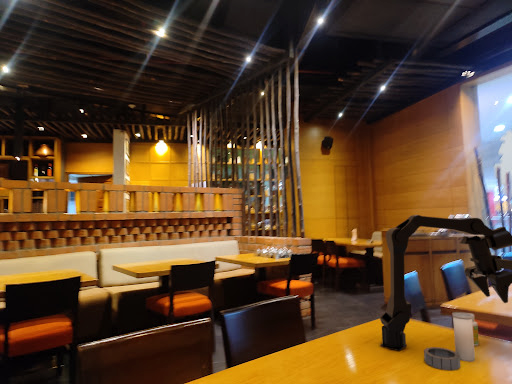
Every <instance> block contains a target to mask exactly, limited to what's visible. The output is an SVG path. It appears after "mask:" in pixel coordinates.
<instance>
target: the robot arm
mask: <svg viewBox="0 0 512 384" xmlns="http://www.w3.org/2000/svg"><path fill="white" fill-rule="evenodd" d="M420 227H423V228H430V229H431V228H432V229H444V230H450V231H453V232H456V233H460V234H463V235H469V236H462V239H461V240H460V242H459V244H461V245H467V246H468V249H469V252H470V255H471V257H470V258H469V260H470V262H473V264H474V265H472V266H468V267H466V268H465V270H463V271H464V275H465V277H468V279H469V280H470V281H472V283H473V284H474V285H475V286H476V287H477V288H478V289H479V290H480V291H481V292H482V293H483V294H484V296H486V297H487V298H488V297H490V296H491V293H490V289H489V283H488V281H489V282H490V286H491V287H492V288H493V290H494V291H495V292H496V294H497V296H498V297H499V298H500V300H501V301H502V302H503V304H507V303H508V302H509V289H510V286H511V284H512V272H511V271H512V260H511V259H506V258H502V256H501V255H495V254H492V251H491V249H492V250H493V251H498V250H502V249H505V248H509V247H512V234H511V232H510V231H508V229H507V228H506V226H499V227H497V228H495V229H492V228H490V227H488V226H487V225H486V224H485V223H484V221H483V220H482V219H481V218H479V217H463V218H445V217H436V216H425V215H424V216H423V215H419V214H415V215H414V214H413V215H410V216H409V217H408V218H406V220H405V219H404V221H402V222H401V223H399V224H398V225H396V226H395V227H392V228H389V229H388V230H387V231H386V232H385V239H386V244H387V245H386V246H387V248H388V251H389V254H390V256H389V257H390V261H389V262H390V264H389V265H390V266H389V267H390V296H389V297H388V300H387V305H386V309H385V310H386V311H385V312H384V313H383V314H382V315H381V316H380V317H379V320H380V322H381V324H382V326H381V341H382V343H381V344H380V347H382V348H386V349H389V350H390V349H391V350H394V351H398V352H400V351H401V350H403V349H404V348H406V347H407V343H406V342H407V341H406V337H407V336H406V333H405V329H406V325H407V324H408V323H409V322H410V320H411V317H413V315H412V303H410V302H409V301H408V300H407V299H406V296H405V292H406V290H405V286H406V285H405V278H406V277H405V254H406V252H407V249H408V246H409V240H410V239H409V238H410V237H412V236H413V234H415V233H416V232H417V231H418V229H419V228H420ZM470 235H471V236H470ZM472 235H473V236H472ZM508 270H510V271H508Z"/></svg>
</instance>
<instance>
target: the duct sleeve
mask: <svg viewBox="0 0 512 384" xmlns="http://www.w3.org/2000/svg"><path fill="white" fill-rule="evenodd" d="M468 313H469V312H461V311H460V312H459V311H455V312H452V319H453V334H454V348H455V351H454V352H457V353H458V354H459V356H460V361H464V362H474V361H476V356H475V355H476V354H475V346H474V339H473V326H472V315H471V314H472V313H470V314H468Z"/></svg>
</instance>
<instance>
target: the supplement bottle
mask: <svg viewBox="0 0 512 384" xmlns="http://www.w3.org/2000/svg"><path fill="white" fill-rule="evenodd" d="M467 313H468V314H471V315H472V326H473V339H474V347H475V346H476V347H477V346H479V344H480V341H479V340H480V339H479V329H478V328H479V327H478V322H477V321H476V320H475V317H476V316H475V314H474V313H469V312H467Z"/></svg>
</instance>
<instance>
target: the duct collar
mask: <svg viewBox="0 0 512 384" xmlns="http://www.w3.org/2000/svg"><path fill="white" fill-rule="evenodd" d="M423 357H424V358H423V359H424V362H425V364H426V365H428V366H430V367H431V368H435V369H439V370H443V371H455V370H456V371H457V370H459V369H460V367H461V360H460V356H459V354H458V353H457V352H455V351H454V350H452V349H450V348H449V349H448V348H444V347H438V346H437V347H436V346H435V347H434V346H433V347H426V348H425V349H423Z"/></svg>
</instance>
